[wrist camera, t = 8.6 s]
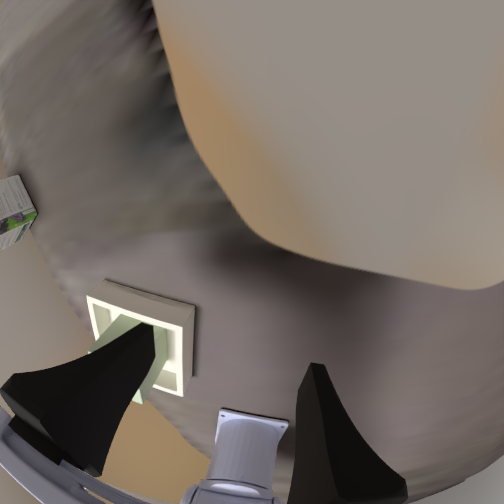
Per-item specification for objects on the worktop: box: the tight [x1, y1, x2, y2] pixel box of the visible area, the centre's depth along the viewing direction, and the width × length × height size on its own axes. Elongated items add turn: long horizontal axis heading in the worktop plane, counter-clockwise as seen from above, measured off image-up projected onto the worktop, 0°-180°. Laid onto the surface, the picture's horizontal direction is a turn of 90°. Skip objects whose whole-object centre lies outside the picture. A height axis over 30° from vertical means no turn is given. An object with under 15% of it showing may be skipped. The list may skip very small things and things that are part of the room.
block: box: [88, 314, 168, 404], centre depth 21 cm, size 4×4×6 cm
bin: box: [86, 280, 195, 397], centre depth 23 cm, size 9×9×3 cm
